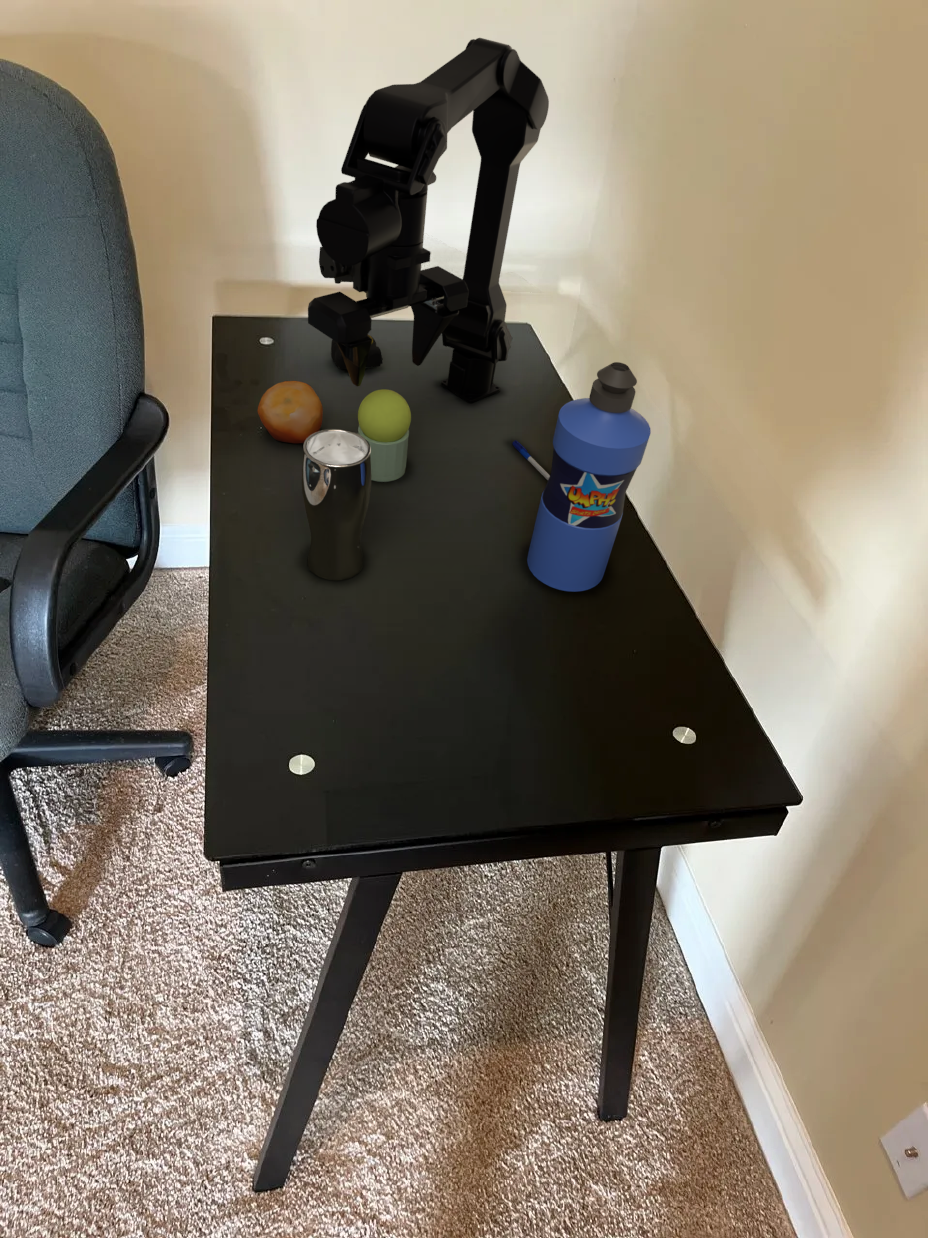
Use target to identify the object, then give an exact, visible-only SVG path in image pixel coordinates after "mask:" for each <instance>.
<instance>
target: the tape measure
mask: <svg viewBox="0 0 928 1238" xmlns="http://www.w3.org/2000/svg"><path fill="white" fill-rule="evenodd" d="M367 336H368V337H370V338H371V339H372V343H371V347H370V352H369V356H368V360H367V365H366V369H367V368H380V367H381V365H383V363H384V362H383V360H384V359H383V354H382V350H381V348H380V347H379V346H377V342H376V340H375V339H374V337H373V336H371V335H370V334H368V335H367ZM330 355H331V360H332V361H333V362H334V364H335V366H336V367H337V368H339V369H341V370H347V367H346V364H345V361H344V359H343V356H342V353H341V351H340V348H339V346H338V344H337V342H336V341H334V340H333V339H331V345H330Z"/></svg>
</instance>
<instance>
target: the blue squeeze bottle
mask: <svg viewBox="0 0 928 1238" xmlns="http://www.w3.org/2000/svg"><path fill="white" fill-rule="evenodd" d="M596 377H597V378H596V379H595V380H593V382H592V385H591V389H590V393H589V397H583V398H577V399H573V400H570V401H568V402H566V403H565V404H564V405H563V406H561V407H560V410H559V412H558V416H557V419H556V420H557V421H556V425H555V429H554V433H553V437H552V446H553V451H552V459H551V471H550V474H549V475H550V477H549V479H548V480H547V481H546V484H545V487H544V490H543V492H542V493H541V497H540V501H539V505H538V509H537V514H536V517H535V522H534V527H533V531H532V534H531V535H532V536H531V540H530V543H529V548H528V552H527V557H526V561H527V567H528V569H529V571H530V572H531V574H532V575H533V576H534V577H535V578H536V579H537V580H538V581H540V583H543V584H544V585H546V586H548V587H550V588H553V589H556V590H559V591H564V592H573V593H574V592H576V593H577V592H584V591H588V590H591V589H593V588H595V587H596V586H598V584H600V583H601V581H602V580H603V578H604V575H605V572H606V569H607V566H608V563H609V560H610V556H611V553H612V550H613V547H614V543H615V540H616V538H617V534H618V531H619V528H620V525H621V521H622V518H623V515H624V506H625V499H626V493H627V490H628V489H629V486H630V484H631V482H632V480H633V478H634V476H635V473H636V471H637V469H638V468H639V466H640V465H641V464H642V461H643V458H644V455H645V452H646V449H647V445H648V443H649V440H650V436H651V432H652V431H651V426H650V424H649V422H648V420H647V419H646V418H645V417H644V416H643V415H642V414H641V413H639V412H638V411H637V410H635V409H634V408H632V406H633V403H634V400H635V397H636V389H635V388H634V387H635V386H636V385H637V384H638V379H637V378H636V376H635V375H634V372H633V371H632V370H631V368H630V367H629V365H627V364H625V363H623V362H619V361H614V362H612V363H610V364H608V365H607V366H604V367H602V368H600V369H599V370H598V371H597V372H596Z"/></svg>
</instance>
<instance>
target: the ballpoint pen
mask: <svg viewBox="0 0 928 1238" xmlns="http://www.w3.org/2000/svg"><path fill="white" fill-rule="evenodd" d="M512 446H513V447H514V448H515V449H516V450H517V452H519V453H520V455H521V456H522V457H523V458H524V459H526V461H528V463H530V465H532V466H533V467H534V468H535V469H536V471H538V472H539V474H541V476H542V477H544V478H545V479H546V480H547V481H548V479H549V477H550V474H549V473H548V472H547V471H546V470H545V469H544V468H543V467H542V466H541V465H540V464H539V462H537V460H535V458H533V456H532V455H530V453H529V452H528V450H527V449H526V448H525V447H524V446H523V445H522V444H521V443H520V442H519V441H518V440H517V439H515V440H513V441H512Z"/></svg>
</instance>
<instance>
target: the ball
mask: <svg viewBox="0 0 928 1238" xmlns="http://www.w3.org/2000/svg"><path fill="white" fill-rule="evenodd" d="M357 420H358V426H359V425H360V428H361V430H362V431H363V433H364V434H365V435H366V436H367V437H368V438H370V439H372V440H375V441H378V442H394V441H397V440H399V439H401V438H402V437H403V436H404V435H405V434H406V432H407V430H409V428H410V425H411V421H412V413H411V409H410V407H409V404H408V402H407V400H406V399H405V397H403V396H402V395H401V394H399V392H396V391H394V390H391V389H384V388H383V389H377V390H373V391H372V392H370V393H368V394H367V395H366V396H365V397H364V398H363V399H362V401H361V402H360V405H359V407H358V411H357Z"/></svg>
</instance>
